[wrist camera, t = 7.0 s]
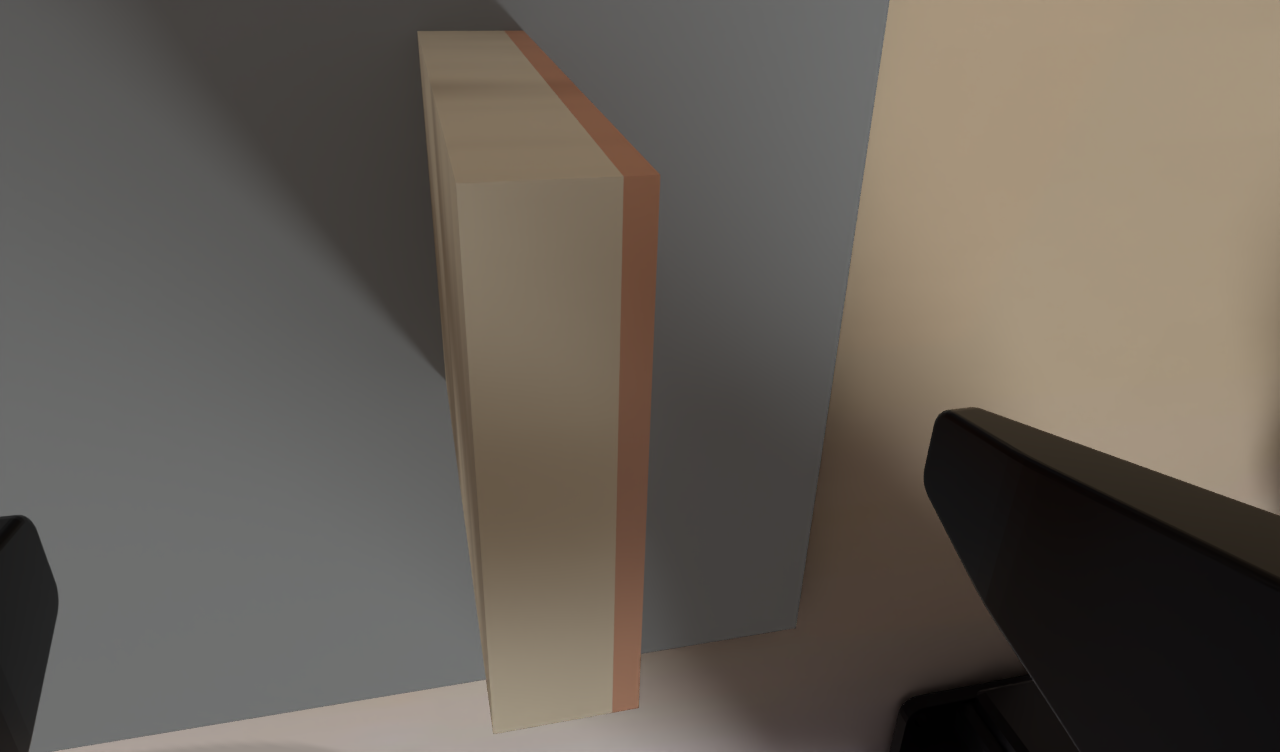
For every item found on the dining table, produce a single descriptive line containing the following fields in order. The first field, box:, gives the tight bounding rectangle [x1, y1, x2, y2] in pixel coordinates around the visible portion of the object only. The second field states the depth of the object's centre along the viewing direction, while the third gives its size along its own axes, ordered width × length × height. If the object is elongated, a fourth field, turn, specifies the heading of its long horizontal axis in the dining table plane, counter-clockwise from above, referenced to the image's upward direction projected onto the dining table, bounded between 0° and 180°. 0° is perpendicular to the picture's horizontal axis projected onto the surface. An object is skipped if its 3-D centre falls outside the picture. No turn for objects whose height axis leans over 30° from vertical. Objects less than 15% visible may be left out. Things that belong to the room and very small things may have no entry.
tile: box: [417, 31, 660, 734], centre depth 12 cm, size 6×2×8 cm, turn 178°
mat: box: [0, 0, 889, 752], centre depth 15 cm, size 22×18×1 cm
